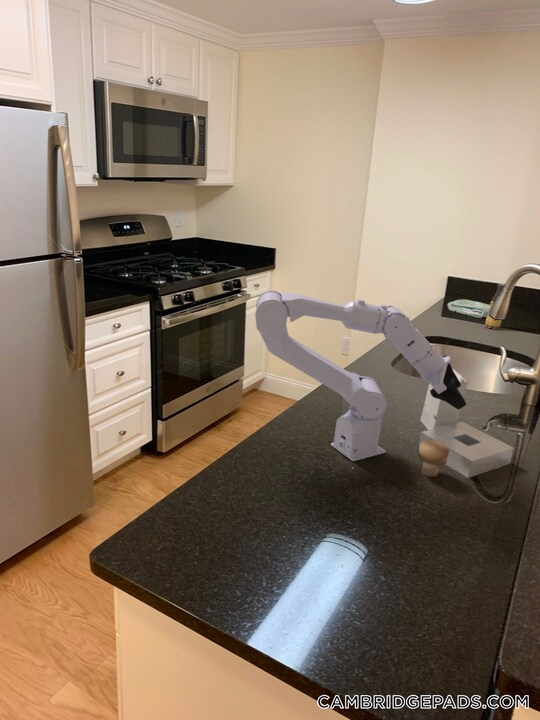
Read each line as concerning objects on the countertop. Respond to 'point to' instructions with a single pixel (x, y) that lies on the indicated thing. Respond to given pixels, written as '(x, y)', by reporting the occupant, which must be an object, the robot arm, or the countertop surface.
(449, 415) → the skincare box
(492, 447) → the block
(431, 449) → the pin
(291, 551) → the countertop surface
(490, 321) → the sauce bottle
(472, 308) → the towel
